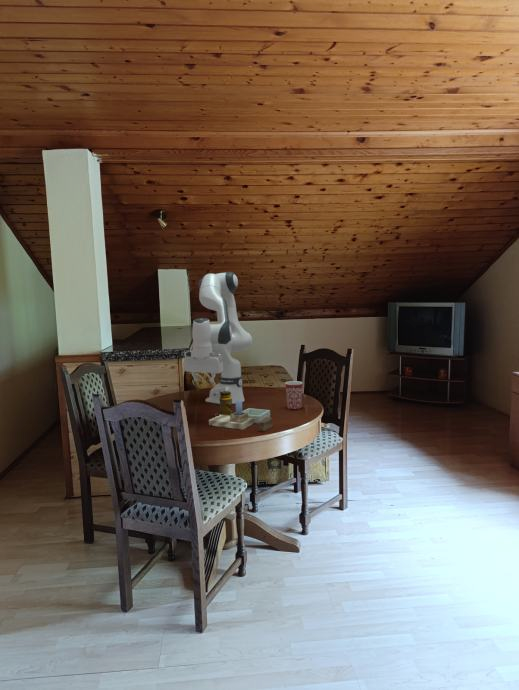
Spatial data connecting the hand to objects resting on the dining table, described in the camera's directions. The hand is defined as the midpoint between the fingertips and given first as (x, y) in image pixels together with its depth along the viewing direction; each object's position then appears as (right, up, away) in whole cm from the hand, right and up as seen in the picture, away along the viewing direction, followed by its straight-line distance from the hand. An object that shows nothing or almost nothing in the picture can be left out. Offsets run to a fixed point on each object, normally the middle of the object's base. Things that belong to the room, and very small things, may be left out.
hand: (204, 381), depth 217 cm
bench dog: (+29, -20, -12) cm, 37 cm away
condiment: (+9, -18, +11) cm, 23 cm away
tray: (+24, -18, +3) cm, 30 cm away
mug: (+45, -16, +24) cm, 53 cm away
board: (+13, -20, -4) cm, 24 cm away
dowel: (+17, -17, -7) cm, 25 cm away
